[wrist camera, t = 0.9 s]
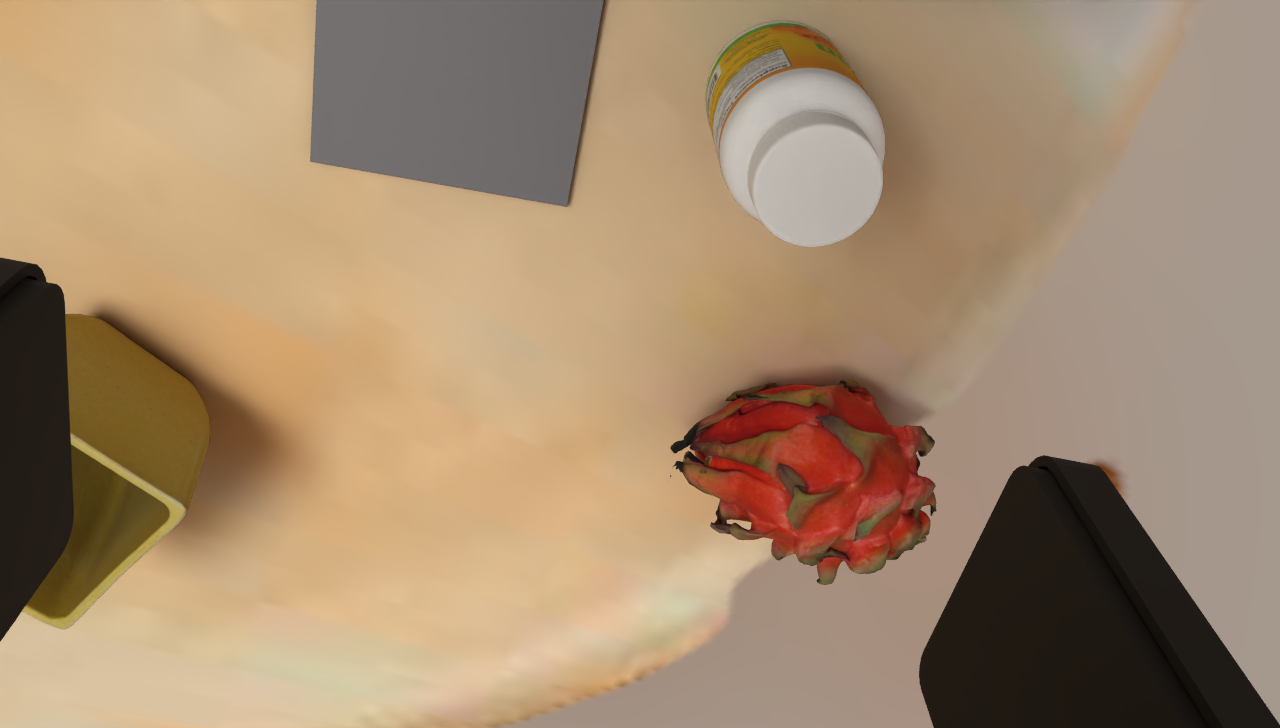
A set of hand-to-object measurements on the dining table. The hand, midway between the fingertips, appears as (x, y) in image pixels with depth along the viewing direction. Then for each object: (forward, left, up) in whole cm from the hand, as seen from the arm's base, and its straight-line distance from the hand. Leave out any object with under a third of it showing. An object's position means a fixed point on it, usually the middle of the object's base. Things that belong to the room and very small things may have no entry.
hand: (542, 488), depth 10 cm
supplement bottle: (+4, +8, -31) cm, 32 cm away
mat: (+5, -4, -31) cm, 32 cm away
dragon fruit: (+19, +13, -31) cm, 39 cm away
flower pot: (+22, -17, -31) cm, 42 cm away
